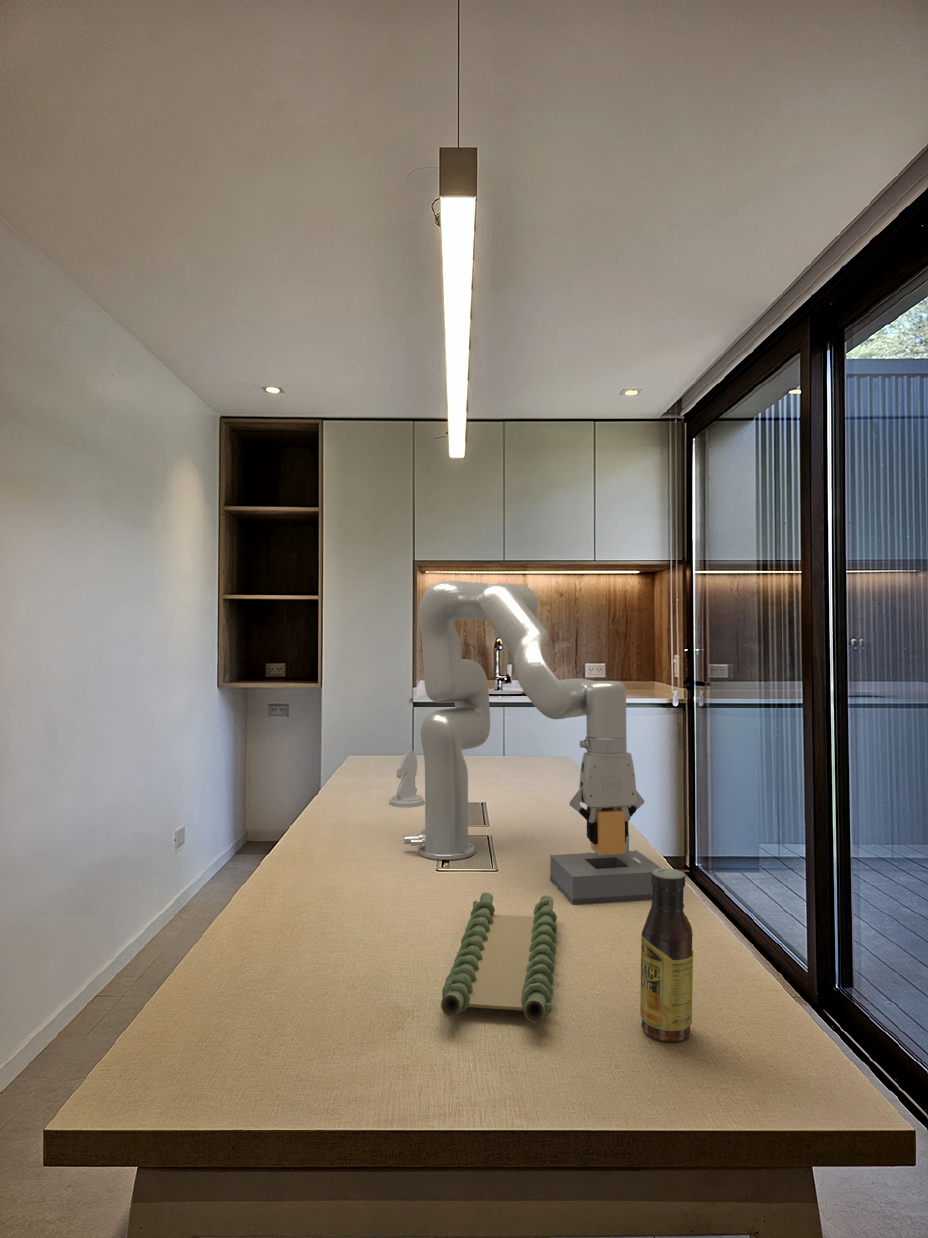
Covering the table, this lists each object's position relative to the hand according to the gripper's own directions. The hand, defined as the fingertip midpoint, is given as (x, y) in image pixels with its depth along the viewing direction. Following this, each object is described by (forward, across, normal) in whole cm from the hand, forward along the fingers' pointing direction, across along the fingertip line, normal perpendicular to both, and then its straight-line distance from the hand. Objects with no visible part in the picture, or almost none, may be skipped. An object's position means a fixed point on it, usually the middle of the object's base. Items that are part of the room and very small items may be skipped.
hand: (607, 840), depth 154 cm
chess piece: (+9, -29, +81) cm, 87 cm away
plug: (+2, 0, 0) cm, 2 cm away
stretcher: (+10, -27, -31) cm, 42 cm away
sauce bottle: (+10, -12, -53) cm, 55 cm away
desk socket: (+9, 0, 0) cm, 9 cm away
